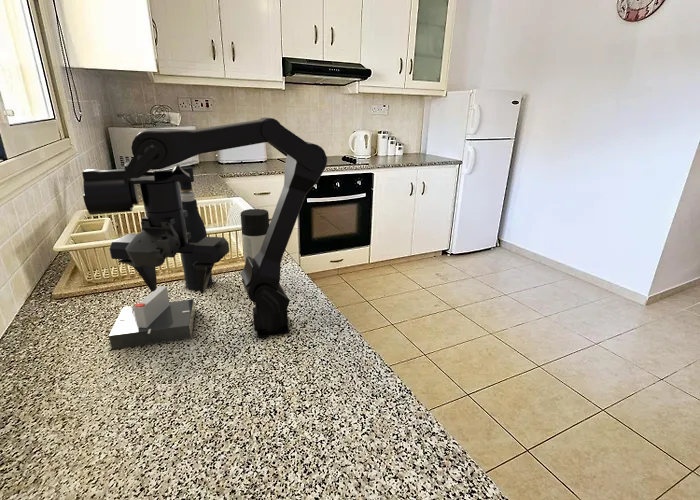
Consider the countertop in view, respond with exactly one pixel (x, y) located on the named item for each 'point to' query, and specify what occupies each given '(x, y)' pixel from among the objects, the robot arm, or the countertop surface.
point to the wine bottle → (191, 230)
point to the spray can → (253, 230)
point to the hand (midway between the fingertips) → (178, 291)
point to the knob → (151, 306)
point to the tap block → (154, 326)
